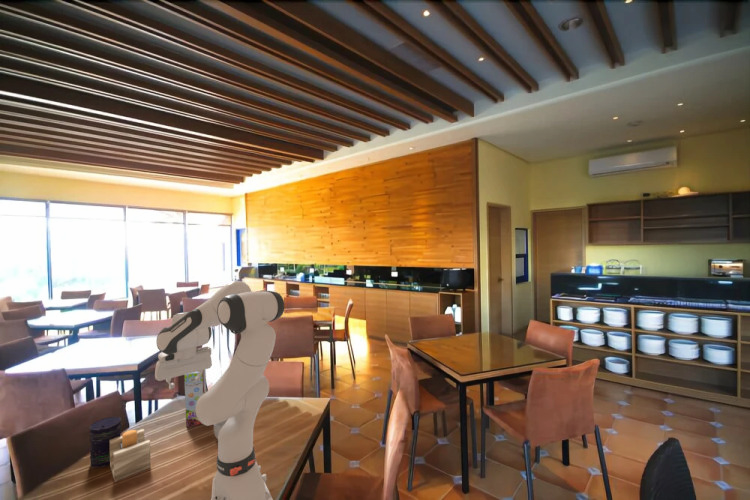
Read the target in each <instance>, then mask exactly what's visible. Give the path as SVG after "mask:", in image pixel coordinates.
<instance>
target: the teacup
mask: <svg viewBox="0 0 750 500" xmlns="http://www.w3.org/2000/svg"><path fill="white" fill-rule="evenodd" d="M227 420H228V419H227ZM227 420H225V421H223V422H220V423H217V424H213V425H212V426H213V432H214V436H215V438H216V439H217V440H218V435H219V432H220V430H221V428H222V427H223V425H224V424H225V423H226V421H227Z"/></svg>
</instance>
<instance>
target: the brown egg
mask: <svg viewBox="0 0 750 500" xmlns="http://www.w3.org/2000/svg"><path fill="white" fill-rule="evenodd" d="M137 431H138V429H137V430H136V429H130V430H128V431H127V430H126V431H125V432H124V433H122V435H121V436H122V447H123V448H127V447H130V446H132V445H135V444H137Z"/></svg>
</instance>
